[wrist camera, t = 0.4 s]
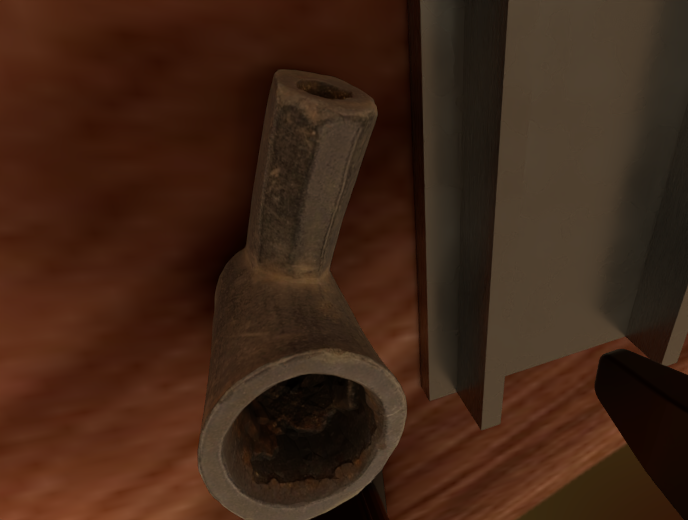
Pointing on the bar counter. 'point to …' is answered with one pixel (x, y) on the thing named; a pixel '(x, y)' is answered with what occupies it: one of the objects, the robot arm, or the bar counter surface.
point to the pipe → (297, 324)
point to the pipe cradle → (546, 185)
